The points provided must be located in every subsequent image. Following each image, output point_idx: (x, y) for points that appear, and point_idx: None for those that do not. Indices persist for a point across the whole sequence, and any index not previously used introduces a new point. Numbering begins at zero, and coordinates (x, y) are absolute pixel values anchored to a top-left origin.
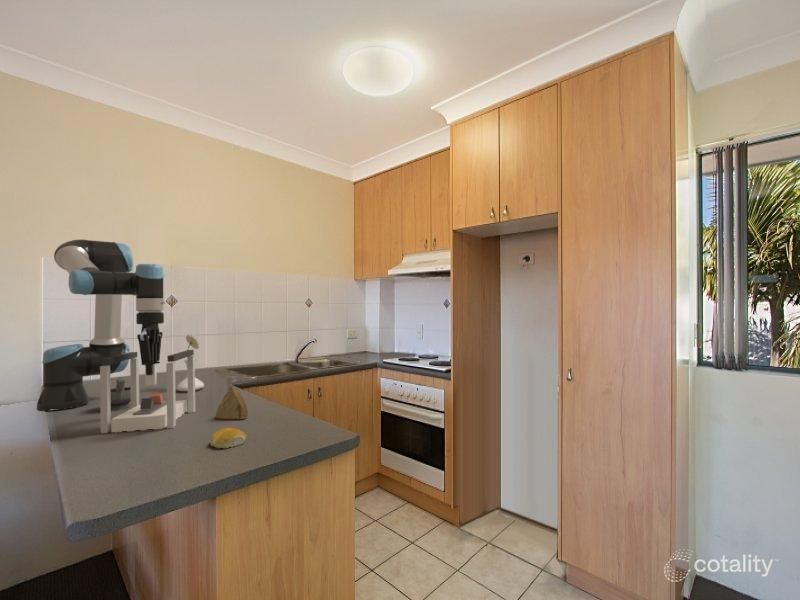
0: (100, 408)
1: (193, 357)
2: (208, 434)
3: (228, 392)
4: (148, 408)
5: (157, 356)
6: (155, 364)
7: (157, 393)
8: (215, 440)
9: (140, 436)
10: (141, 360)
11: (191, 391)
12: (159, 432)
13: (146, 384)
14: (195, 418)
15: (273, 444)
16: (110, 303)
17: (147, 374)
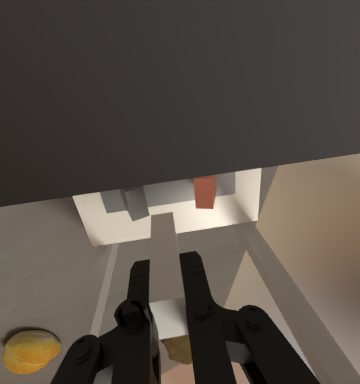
0: None
1: None
2: (71, 308)
3: (187, 345)
4: (123, 200)
5: (250, 381)
6: (175, 335)
7: (211, 196)
8: (8, 348)
9: (43, 210)
10: (55, 375)
11: (252, 257)
12: (75, 232)
13: (151, 220)
14: (178, 248)
15: (39, 378)
16: None
17: (135, 269)
